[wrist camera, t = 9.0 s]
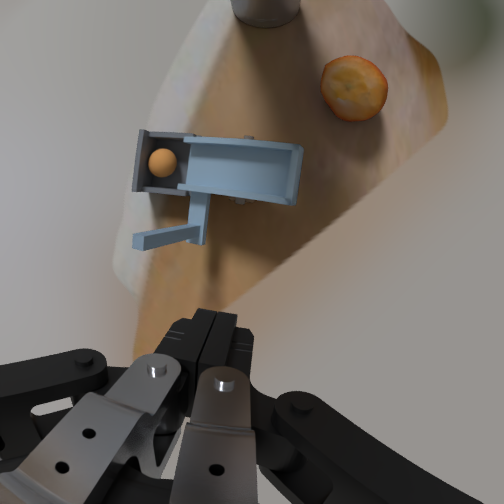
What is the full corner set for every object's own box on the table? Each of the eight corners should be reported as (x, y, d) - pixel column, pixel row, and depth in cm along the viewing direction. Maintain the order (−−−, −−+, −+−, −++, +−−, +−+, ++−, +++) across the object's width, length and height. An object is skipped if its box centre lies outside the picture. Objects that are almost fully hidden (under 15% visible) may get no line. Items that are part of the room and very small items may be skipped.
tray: (155, 135, 35) (139, 129, 30) (205, 138, 34) (195, 131, 30) (148, 190, 36) (131, 191, 31) (197, 195, 36) (186, 197, 31)
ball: (179, 151, 35) (152, 149, 34) (177, 148, 32) (147, 146, 31) (176, 178, 36) (149, 176, 35) (173, 178, 32) (144, 176, 32)
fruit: (402, 106, 31) (399, 103, 25) (351, 129, 36) (336, 132, 30) (370, 53, 29) (359, 39, 23) (322, 79, 34) (301, 71, 28)
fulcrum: (241, 142, 34) (236, 134, 29) (262, 144, 34) (261, 137, 29) (233, 200, 36) (227, 202, 31) (254, 202, 36) (251, 205, 30)
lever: (195, 140, 31) (134, 121, 21) (303, 148, 27) (278, 122, 18) (183, 239, 33) (122, 255, 24) (287, 261, 30) (254, 291, 20)
